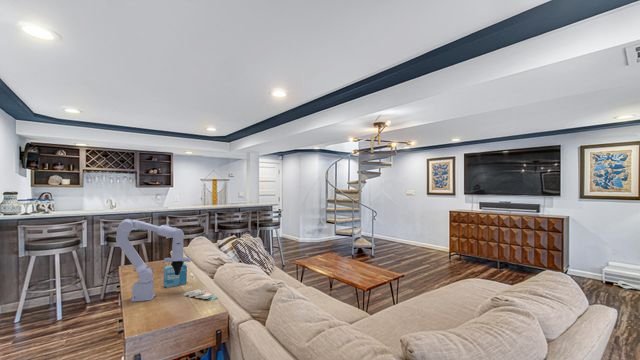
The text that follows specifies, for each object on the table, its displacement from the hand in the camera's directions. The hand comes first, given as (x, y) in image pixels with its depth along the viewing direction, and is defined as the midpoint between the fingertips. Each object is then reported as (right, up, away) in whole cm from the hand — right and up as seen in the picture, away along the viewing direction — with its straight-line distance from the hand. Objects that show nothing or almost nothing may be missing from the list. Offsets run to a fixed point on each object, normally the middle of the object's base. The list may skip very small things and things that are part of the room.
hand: (177, 274), depth 160 cm
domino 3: (+14, -9, -6) cm, 18 cm away
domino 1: (+6, -10, -2) cm, 12 cm away
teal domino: (+16, -10, -6) cm, 20 cm away
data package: (-8, -11, +13) cm, 19 cm away
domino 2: (+10, -10, -4) cm, 15 cm away
